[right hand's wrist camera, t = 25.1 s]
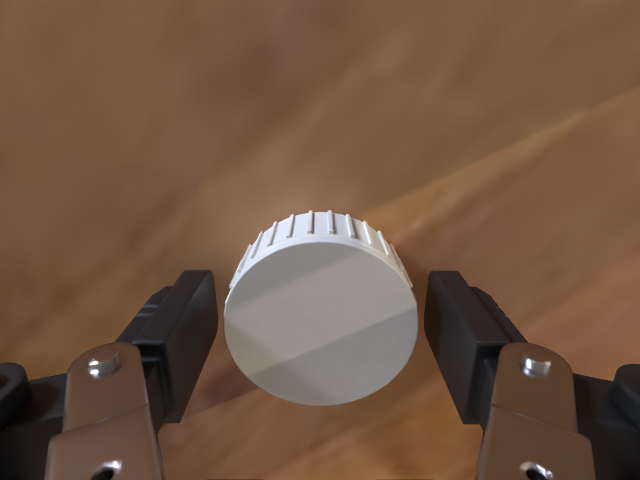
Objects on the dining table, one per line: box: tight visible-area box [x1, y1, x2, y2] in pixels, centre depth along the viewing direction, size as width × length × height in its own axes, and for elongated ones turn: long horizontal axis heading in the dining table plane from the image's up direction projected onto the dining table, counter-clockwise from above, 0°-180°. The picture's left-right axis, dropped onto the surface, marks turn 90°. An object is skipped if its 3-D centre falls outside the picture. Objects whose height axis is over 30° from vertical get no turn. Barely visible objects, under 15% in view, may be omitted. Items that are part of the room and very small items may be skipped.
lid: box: [223, 210, 419, 406], centre depth 11 cm, size 5×5×2 cm
